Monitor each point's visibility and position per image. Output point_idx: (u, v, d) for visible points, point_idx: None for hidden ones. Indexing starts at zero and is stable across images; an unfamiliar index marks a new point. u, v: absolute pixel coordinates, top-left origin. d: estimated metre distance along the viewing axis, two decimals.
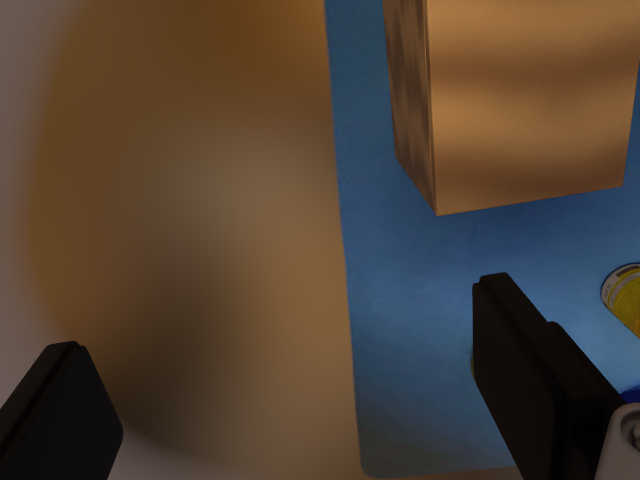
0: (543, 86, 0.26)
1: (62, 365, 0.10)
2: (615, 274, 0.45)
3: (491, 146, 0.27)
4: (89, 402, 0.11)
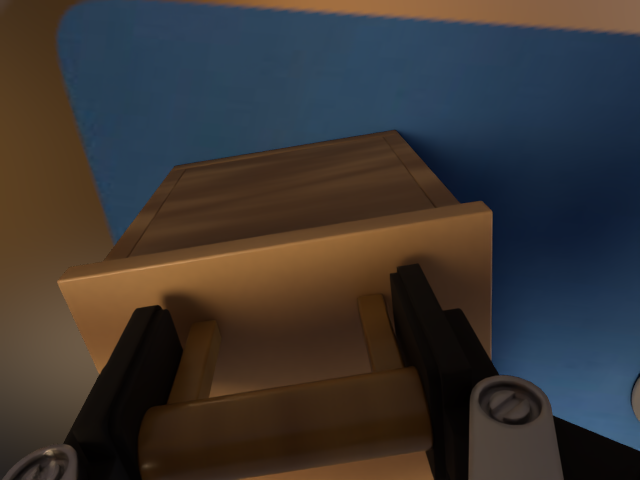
0: (338, 477, 0.16)
1: (153, 325, 0.11)
2: None
3: None
4: (173, 361, 0.12)
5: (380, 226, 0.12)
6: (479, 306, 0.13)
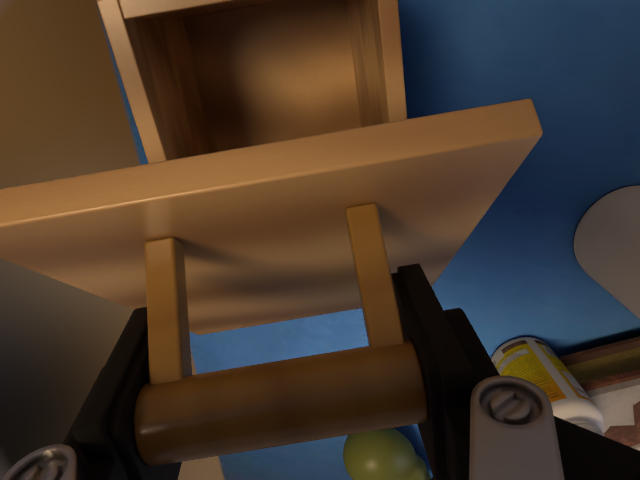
0: (308, 285, 0.17)
1: None
2: (501, 349, 0.40)
3: (247, 311, 0.20)
4: None
5: (388, 152, 0.09)
6: (484, 198, 0.11)
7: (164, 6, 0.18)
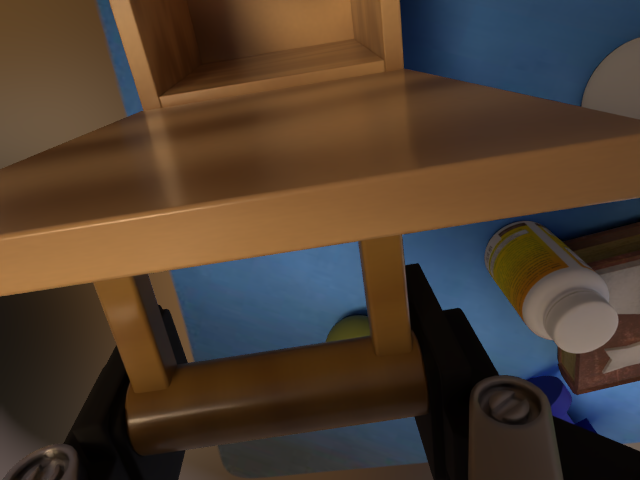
0: None
1: None
2: (498, 233, 0.37)
3: None
4: None
5: (440, 218, 0.06)
6: None
7: None
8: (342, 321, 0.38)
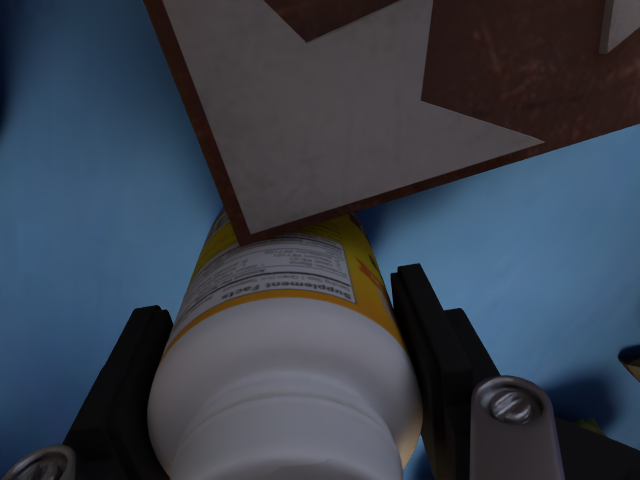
0: None
1: (152, 325, 0.11)
2: None
3: None
4: None
5: None
6: None
7: None
8: None
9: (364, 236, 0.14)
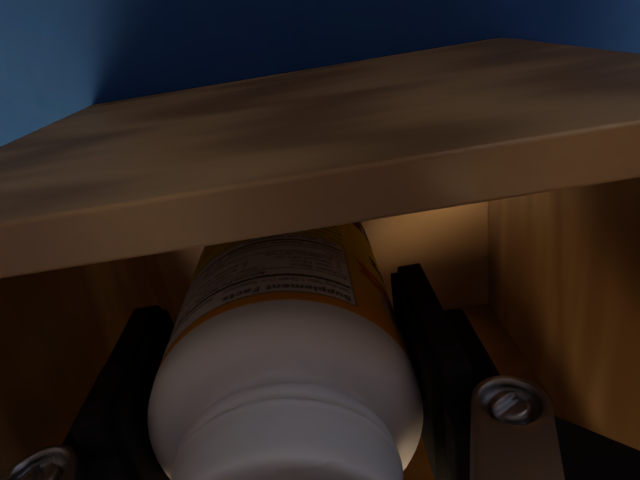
0: None
1: (153, 325, 0.11)
2: None
3: None
4: None
5: None
6: None
7: None
8: None
9: (364, 238, 0.14)
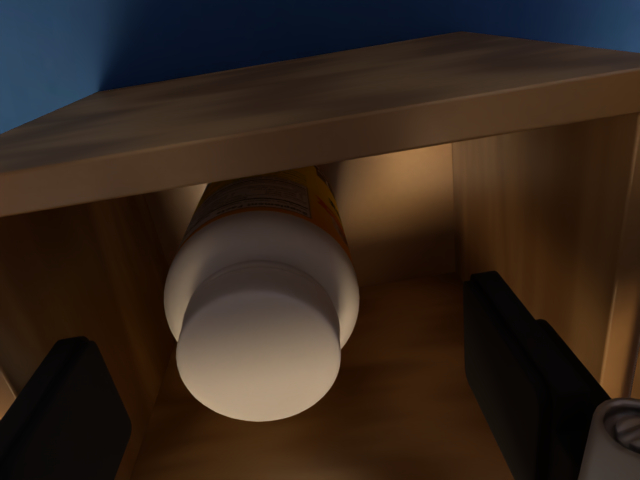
0: None
1: (73, 359, 0.10)
2: None
3: None
4: (99, 396, 0.11)
5: None
6: None
7: None
8: None
9: (328, 187, 0.18)
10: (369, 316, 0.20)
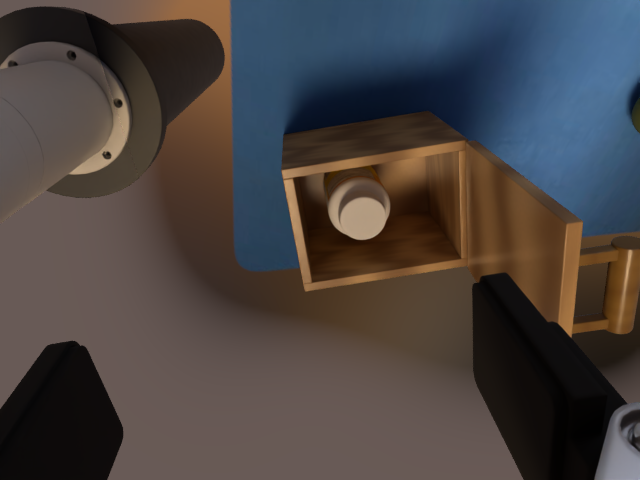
0: None
1: (62, 365, 0.10)
2: None
3: None
4: (89, 402, 0.11)
5: (575, 273, 0.24)
6: None
7: (307, 266, 0.41)
8: (634, 124, 0.47)
9: (375, 172, 0.46)
10: (390, 227, 0.49)
